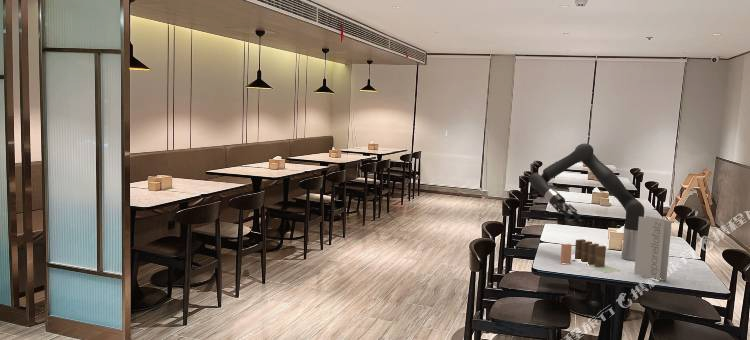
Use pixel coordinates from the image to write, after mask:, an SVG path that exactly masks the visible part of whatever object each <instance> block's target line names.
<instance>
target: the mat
mask: <svg viewBox="0 0 750 340" xmlns="http://www.w3.org/2000/svg"><path fill="white" fill-rule="evenodd" d="M588 267H590V268H592V269H594V270H597V271H599V272H603V273H615V272H616V273H617V272H622V270H621V269H617V268H615V267H612V266H609V265H606V264H605V266H604V267H595V266H594V265H589V266H588Z"/></svg>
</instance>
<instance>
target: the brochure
mask: <svg viewBox="0 0 750 340" xmlns="http://www.w3.org/2000/svg"><path fill="white" fill-rule="evenodd" d="M672 222H673V221H672V220H667V219H663V218H659V217H652V216H648V215H646V216H644V217H639V222H638V234H637V246H636V258H635V261H634V272H633V274H635V275H639V276H640V278H641V277H642V278H645V279H647V278H654V279H657V280H659V281H661V280H660V278H661V279H663V280H662V281H664V280H665V281H664V282H667V278H668V269H669V268H668V267H669V266H668V265H669V255H670V245H671V236H672V235H671V234H672V233H671V232H672V225H673V224H672Z"/></svg>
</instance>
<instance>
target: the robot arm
mask: <svg viewBox="0 0 750 340" xmlns="http://www.w3.org/2000/svg"><path fill="white" fill-rule="evenodd" d="M580 162H581V163H583V164H584V165H585V166H586V167H587V168H588V169H589V171H590V172H591V173H592V174H593V176H594V177H595V178H596V180H597V181H598V182H599V183H600V185H602V187H603V188H604V189H605V190H606V191H607V192H608V193H609V194H611V195H612V196H613V197H614V198H616V199H617V201H618V202H619V203H620V205H621V206H622V207H623V209H624V210H625V218H624V219H625V221H624V226H623V236H622V237H623V238H622V247H621V248H622V249H621V250H622V251H621V258H622V259H623V260H627V261H634V262H635V258H636V246H637V234H638V222H639V217H645V206H644V205H643V203H642V202H641V201H639V200H638V199H637V198H636V197H634V196H633V195H632V194H631V193H630V192H629V191H628V189H627V188H626V186H625V185H624V184H623V182H622V181H621V180H620V178H619V177H618V176H617V175H616V173H615V172H614V171H612V169H610V168H609V167H608V166H607V165H605V164H604V163H603V162H601V161H600V160H599V159H598V157H597V156H596V155H595V153H594V148H593V146H592V145H591V144H589V143H585V142H583V143H581V144H579V145H577V146H575V149H574V151H573V150H572V152H571V153H570V154H568V155H567V156H564V157H563V158H562V159H559V160H557V161H555V162H554V163H552V164H550V165H548V166H547V167H545V168H543V171H542V174H541V175H540V174H539V173H536V172H534V173H531V174H530V175H529V177H528V181H529V183H530V186H531V187H532V188H533V189H534V190H538V192H539V193H540V195H541V196H542V197H543V198H544V200H545V201H546V202H547V203H549V205H551V206H552V207H553V208H554V209H555V210H556V212H557V213H559V214H562V215H564V217H566V219H569V218H570V217H571V215H572V216H573V217H575V219H577V220H579V219H580V217H581V215H580V214H579V213H578V210H577V209H576V207H574V206H573V205H572V204H570V203H569V204H567V203H566V199H565V197H563V196H562V195H561V194H560V193H559V192H558V191H557V190H556V189H554V188H553V187H552V186H551V185H549V182H550V181H551V180H552V179H554V178H555V177H557V176H559V175H561V174H562V173H563V172H565V171H567V170H568V169H570V168H571V167H573V166H574V165H576V164H578V163H580Z"/></svg>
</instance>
